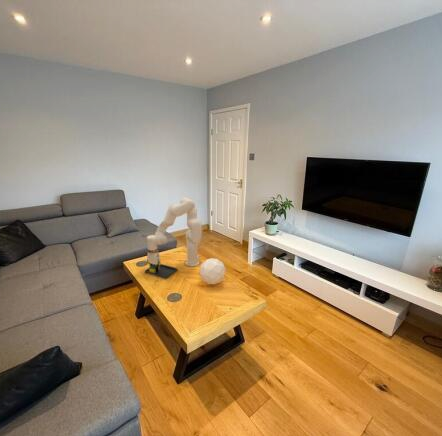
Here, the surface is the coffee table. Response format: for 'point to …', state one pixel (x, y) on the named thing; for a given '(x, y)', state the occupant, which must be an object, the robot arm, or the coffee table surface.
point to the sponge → (152, 268)
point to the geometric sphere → (212, 271)
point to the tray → (163, 271)
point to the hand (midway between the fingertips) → (154, 270)
